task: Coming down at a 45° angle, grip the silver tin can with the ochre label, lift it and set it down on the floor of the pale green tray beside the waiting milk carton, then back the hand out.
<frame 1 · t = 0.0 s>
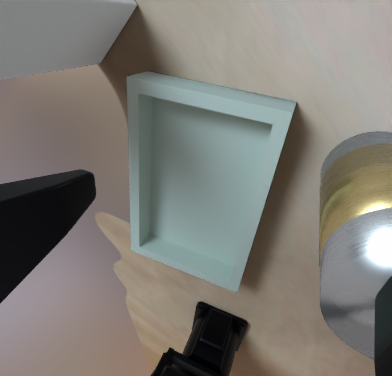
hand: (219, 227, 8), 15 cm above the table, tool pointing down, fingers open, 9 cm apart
milk: (94, 5, 21), on the table
tin can: (370, 175, 20), on the table
pale green tray: (202, 184, 26), on the table
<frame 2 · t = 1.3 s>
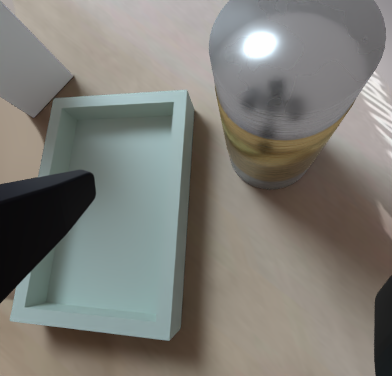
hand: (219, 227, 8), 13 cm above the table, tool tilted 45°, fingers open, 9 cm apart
milk: (39, 83, 29), on the table
tin can: (269, 150, 22), on the table
pale green tray: (120, 207, 23), on the table
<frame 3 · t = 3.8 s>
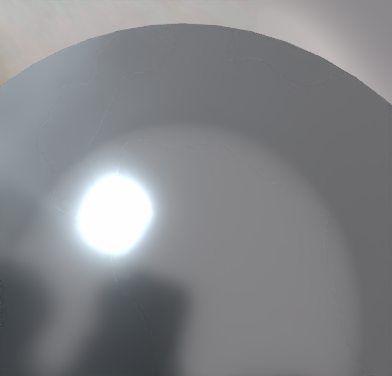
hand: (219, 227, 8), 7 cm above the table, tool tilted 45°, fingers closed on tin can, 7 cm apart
tin can: (223, 267, 14), on the table, touching gripper
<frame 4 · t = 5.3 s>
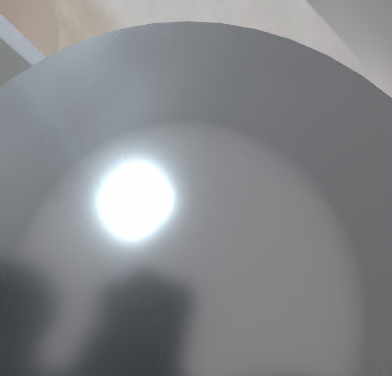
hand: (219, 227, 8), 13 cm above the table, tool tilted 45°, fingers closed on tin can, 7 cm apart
milk: (70, 129, 26), on the table
tin can: (224, 266, 14), point 7 cm above the table, touching gripper
when the fingers open (9 cm above the table, at t = 7.1 s): tin can drops 1 cm, resting on pale green tray.
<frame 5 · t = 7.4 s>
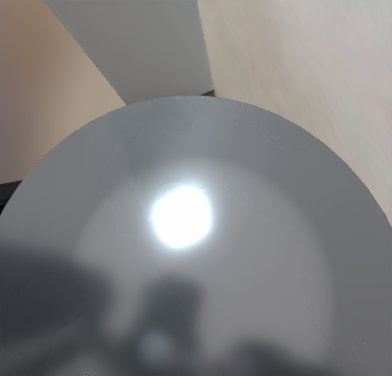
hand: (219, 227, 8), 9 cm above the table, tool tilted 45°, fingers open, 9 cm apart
milk: (165, 75, 21), on the table
tin can: (225, 268, 15), point 1 cm above the table, touching pale green tray
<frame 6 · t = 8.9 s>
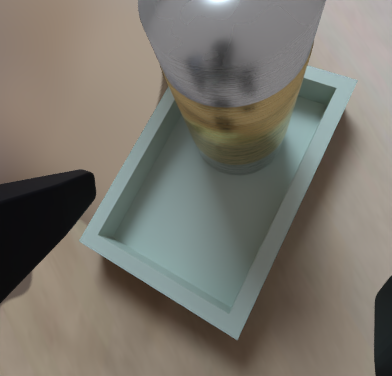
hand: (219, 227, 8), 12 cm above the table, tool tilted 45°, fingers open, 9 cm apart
tin can: (238, 134, 21), point 1 cm above the table, touching pale green tray
pale green tray: (219, 175, 21), on the table
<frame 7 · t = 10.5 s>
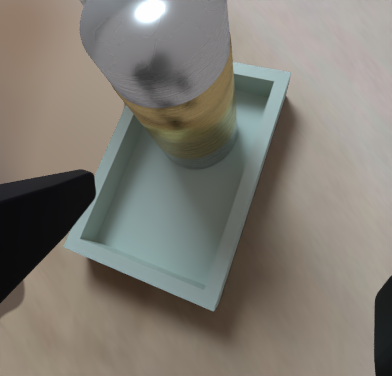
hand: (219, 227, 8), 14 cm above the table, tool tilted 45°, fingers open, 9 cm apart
tin can: (198, 132, 23), point 1 cm above the table, touching pale green tray
pale green tray: (186, 171, 23), on the table
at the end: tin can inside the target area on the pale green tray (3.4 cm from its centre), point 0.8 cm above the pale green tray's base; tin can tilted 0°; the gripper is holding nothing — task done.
